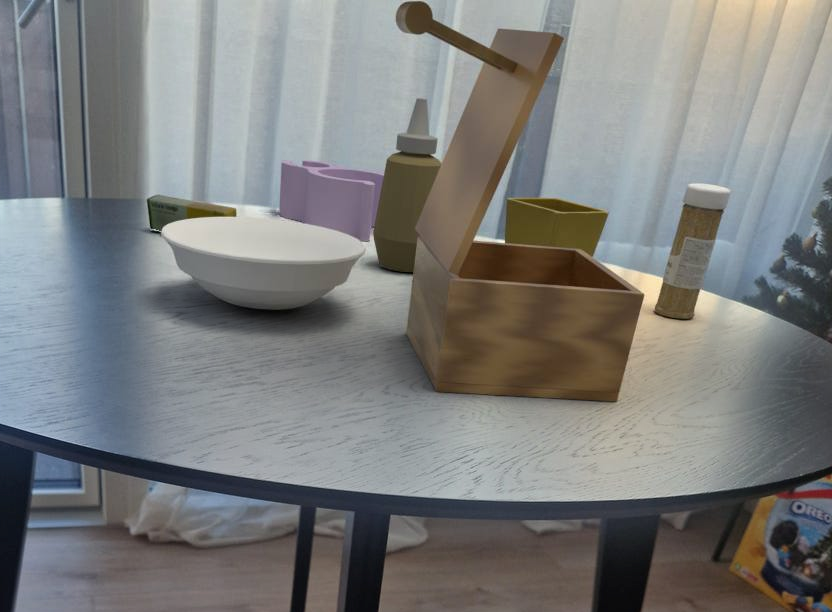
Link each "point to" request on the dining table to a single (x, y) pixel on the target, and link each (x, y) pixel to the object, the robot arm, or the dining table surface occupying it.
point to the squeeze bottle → (405, 192)
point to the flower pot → (553, 223)
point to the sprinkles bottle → (691, 249)
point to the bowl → (262, 259)
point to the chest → (522, 322)
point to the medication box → (182, 210)
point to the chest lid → (479, 127)
